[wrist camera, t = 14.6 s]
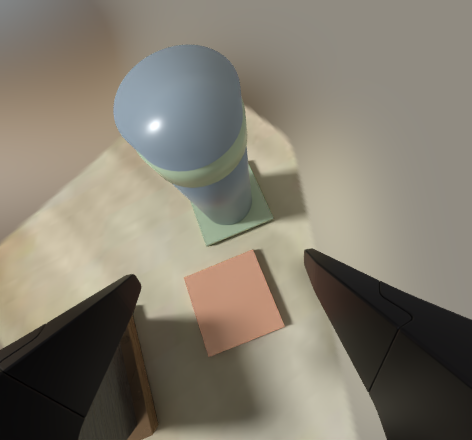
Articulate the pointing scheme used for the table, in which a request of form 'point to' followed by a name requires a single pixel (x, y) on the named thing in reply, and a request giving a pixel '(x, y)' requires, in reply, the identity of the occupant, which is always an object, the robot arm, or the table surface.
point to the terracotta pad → (232, 303)
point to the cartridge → (190, 127)
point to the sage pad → (254, 218)
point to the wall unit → (122, 397)
